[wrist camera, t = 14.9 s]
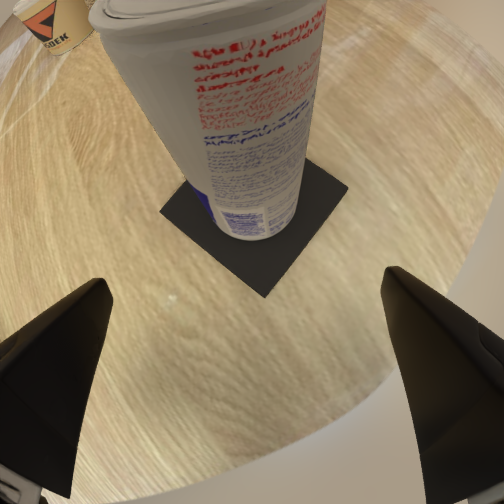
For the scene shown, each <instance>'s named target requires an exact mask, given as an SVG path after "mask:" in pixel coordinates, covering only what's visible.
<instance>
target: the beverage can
mask: <svg viewBox="0 0 504 504" xmlns="http://www.w3.org/2000/svg"><path fill="white" fill-rule="evenodd" d="M325 14H326V0H96V1H95V3H94V4H93V6H92V7H91V9H90V12H89V16H88V20H89V23H90V24H91V26H92V27H93V29H94V30H95V31H96V32H98V33H100V39H101V41H102V44H103V46H104V49H105V51H106V53H107V54H108V56H109V57H110V59H111V61H112V62H113V64H114V66H115V67H116V69H117V70H118V72H119V74H120V75H121V77H122V78H123V80H124V82H125V83H126V85H127V86H128V88H129V90H130V91H131V93H132V94H133V96H134V98H135V99H136V101H137V102H138V104H139V106H140V107H141V109H142V110H143V112H144V114H145V115H146V117H147V118H148V120H149V121H150V123H151V125H152V126H153V128H154V129H155V131H156V132H157V134H158V136H159V137H160V139H161V140H162V142H163V143H164V145H165V147H166V148H167V150H168V151H169V153H170V154H171V156H172V157H173V159H174V161H175V162H176V164H177V165H178V167H179V168H180V170H181V171H182V173H183V175H184V176H185V178H186V179H187V181H188V182H189V184H190V185H191V187H192V188H193V190H194V191H195V193H196V195H197V196H198V198H199V199H200V201H201V202H202V204H203V205H204V207H205V208H206V210H207V211H208V213H209V214H210V216H211V217H212V219H213V220H214V222H215V223H216V225H217V226H218V227H219V228H220V229H221V230H222V231H224V232H225V233H227V234H228V235H230V236H232V237H234V238H238V239H241V240H261V239H265V238H268V237H271V236H273V235H275V234H276V233H278V232H280V231H281V230H282V229H283V228H284V227H285V226H286V225H287V224H288V223H289V222H290V220H291V219H292V217H293V215H294V213H295V210H296V207H297V202H298V196H299V190H300V185H301V179H302V173H303V168H304V162H305V156H306V150H307V144H308V138H309V131H310V125H311V119H312V112H313V105H314V99H315V92H316V85H317V78H318V70H319V63H320V55H321V47H322V39H323V31H324V23H325Z"/></svg>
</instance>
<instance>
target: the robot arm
mask: <svg viewBox="0 0 504 504" xmlns="http://www.w3.org/2000/svg"><path fill="white" fill-rule="evenodd" d="M381 298H382V302H383V307H384V311H385V316H386V320H387V325H388V330H389V335H390V338H391V342H392V345H393V348H394V352H395V355H396V358H397V362H398V365H399V369H400V372H401V376H402V379H403V383H404V387H405V391H406V395H407V398H408V403H409V407H410V411H411V415H412V420H413V424H414V429H415V434H416V439H417V444H418V449H419V454H420V461H421V467H422V473H423V480H424V488H425V495H426V504H454V503H456V502H459V501H462V500H464V499H466V498H467V499H468V504H504V340H503V339H502V338H500V337H499V336H497V335H496V334H495V333H493V332H492V331H491V330H489V329H488V328H487V327H485V326H484V325H483V324H481V323H478V321H477V320H476V319H475V318H473V317H472V316H470V315H469V314H468V313H466V312H465V311H464V310H462V309H461V308H460V307H458V306H457V305H455V304H454V303H453V302H451V301H450V300H448V299H447V298H445V297H444V296H443V295H441V294H440V293H438V292H437V291H435V290H434V289H432V288H431V287H430V286H428V285H427V284H425V283H424V282H422V281H421V280H419V279H418V278H416V277H415V276H413V275H412V274H410V273H409V272H407V271H405V270H404V269H402V268H401V267H399V266H390V267H387V268H386V269H385V272H384V276H383V281H382V285H381ZM112 306H113V296H112V294H111V292H110V289H109V287H108V285H107V282H106V280H105V279H103V278H93V279H91V280H90V281H88V282H87V283H85V284H83V285H82V286H80V287H79V288H77V289H76V290H75V291H73V292H72V293H70V294H69V295H67V296H66V297H64V298H63V299H61V300H60V301H58V302H57V303H55V304H54V305H53V306H51V307H50V308H48V309H47V310H46V311H44V312H43V313H41V314H40V315H38V316H37V317H36V318H34V319H33V320H32V321H30V322H29V323H27V324H26V325H25V326H23V327H22V328H21V329H20V330H19V331H17V332H15V333H14V334H13V335H11V336H10V337H9V338H7V339H6V340H4V341H3V342H2V343H0V504H48V502H47V500H46V498H45V497H44V496H42V495H41V491H42V487H43V488H45V489H47V490H49V491H51V492H54V493H56V494H58V495H60V496H63V497H65V498H67V499H70V495H71V487H72V480H73V472H74V466H75V460H76V454H77V447H78V442H79V437H80V432H81V427H82V423H83V418H84V414H85V410H86V405H87V401H88V397H89V393H90V390H91V386H92V382H93V378H94V375H95V371H96V368H97V364H98V361H99V358H100V354H101V351H102V348H103V344H104V341H105V337H106V332H107V328H108V323H109V319H110V315H111V310H112Z"/></svg>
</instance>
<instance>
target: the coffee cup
mask: <svg viewBox="0 0 504 504" xmlns="http://www.w3.org/2000/svg"><path fill="white" fill-rule="evenodd" d="M13 10H14V15H15V16H18V18H19V19H20V20H21V21H22V22H23V23H24V24H25V26H26V27H27V28H28V29H29V30H30V31H31V32H32V33H33V34H34V35H35V36H36V37H37V38H38V40H39V41H40V42H41V43H42V44H43V45H44V46H45V47H46V48H47V49H48V50H49V51H50V52H51V53H52V54H53V55H55V56H58V55H61V54H64V53H66V52H68V51H69V50H71V49H73V48H74V47H75V46H77V45H78V44H80V43H81V42H82V41H83V40H84V39H86V38H87V37H88V36H89V35H90V34H91V32H92V31H93V30H94V29H93V27H92V26H91V24H90V23H89V20H88V16H89V10H88V7H87V5H86V3H85V1H84V0H20V1H19V2H18V3H17V4H16V6H15V7H14V8H13Z"/></svg>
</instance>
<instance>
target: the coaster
mask: <svg viewBox="0 0 504 504" xmlns="http://www.w3.org/2000/svg"><path fill="white" fill-rule="evenodd" d="M347 190H348V187H347V186H346V185H344V184H343V183H342V182H340V181H339V180H337V179H336V178H335V177H333V176H332V175H330V174H329V173H327V172H326V171H325V170H323V169H322V168H320V167H319V166H317V165H316V164H314V163H313V162H311V161H310V160H308V159H307V158H305V162H304V168H303V173H302V179H301V185H300V190H299V196H298V202H297V207H296V210H295V213H294V215H293V217H292V219H291V220H290V222H289V223H288V224H287V225H286V226H285V227H284V228H283V229H282V230H281V231H280V232H278V233H276V234H275V235H273V236H271V237H268V238H265V239H261V240H241V239H238V238H234V237H232V236H230V235H228V234H227V233H225V232H224V231H222V230H221V229H220V228H219V227H218V226H217V225H216V223H215V222H214V220H213V219H212V217H211V216H210V214H209V213H208V211H207V210H206V208H205V207H204V205H203V204H202V202H201V201H200V199H199V198H198V196H197V195H196V193H195V191H194V190H193V188H192V187H191V185H190V184H189V182H188V181H187V180H186V181H185V182H184V183H183V184H182V186H181V187H180V188H179V189H178V190H177V191H176V192H175V194H174V195H173V196H172V197H171V198H170V199H169V200H168V202H167V203H166V204H165V205H164V206H163V208H162V209H161V210H160V211H159V212H160V213H161V214H162V215H164V216H165V217H166V218H167V219H168V220H169V221H171V222H172V223H173V224H174V225H175V226H177V227H178V228H179V229H180V230H181V231H183V232H184V233H185V234H186V235H187V236H189V237H190V238H191V239H192V240H193V241H195V242H196V243H197V244H198V245H199V246H201V247H202V248H203V249H204V250H205V251H207V252H208V253H209V254H210V255H211V256H213V257H214V258H215V259H216V260H218V261H219V262H220V263H221V264H222V265H224V266H225V267H226V268H227V269H229V270H230V271H231V272H232V273H234V274H235V275H236V276H237V277H239V278H240V279H241V280H242V281H243V282H245V283H246V284H247V285H248V286H250V287H251V288H252V289H253V290H255V291H256V292H257V293H258V294H260V295H261V296H262V297H264V298H265V297H266V296H267V295H268V294H269V292H270V291H271V290H272V289H273V287H274V286H275V285H276V284H277V282H278V281H279V280H280V279H281V277H282V276H283V275H284V274H285V272H286V271H287V270H288V268H289V267H290V266H291V265H292V263H293V262H294V261H295V259H296V258H297V257H298V256H299V254H300V253H301V252H302V250H303V249H304V248H305V247H306V245H307V244H308V243H309V241H310V240H311V239H312V237H313V236H314V235H315V233H316V232H317V231H318V229H319V228H320V227H321V226H322V224H323V223H324V222H325V220H326V219H327V218H328V216H329V215H330V214H331V212H332V211H333V210H334V208H335V207H336V205H337V204H338V203H339V201H340V200H341V199H342V197H343V196H344V195H345V193H346V192H347Z"/></svg>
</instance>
